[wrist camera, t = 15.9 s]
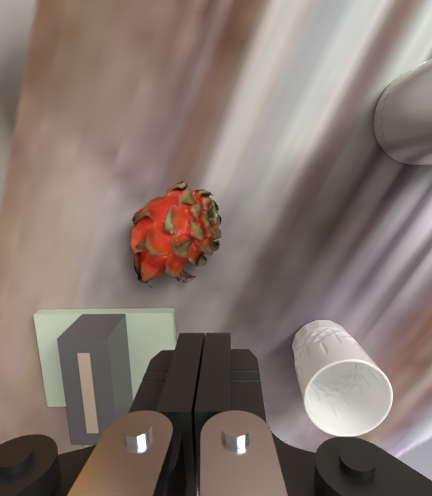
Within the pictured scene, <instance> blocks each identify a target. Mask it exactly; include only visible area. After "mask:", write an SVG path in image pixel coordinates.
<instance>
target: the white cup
mask: <svg viewBox="0 0 432 496" xmlns="http://www.w3.org/2000/svg"><path fill="white" fill-rule="evenodd" d="M292 349H293V354H294V359H295V368H296V374H297V378H298V382H299V386H300V390H301V394H302V398H303V403H304V407H305V411H306V413H307V415H308V417H309V419H310V420H311V421H312V423H313V424H314V425H315V426H316V427H318V428H319V429H320V430H322V431H324V432H326V433H328V434H331V435H334V436H340V437H352V436H358V435H362V434H364V433H367V432H369V431H371V430H373V429H374V428H376V427H377V426H378V425H379V424H380V423H381V422H382V421H383V420H384V419H385V418H386V416H387V415H388V413H389V411H390V408H391V405H392V400H393V392H392V387H391V384H390V382H389V380H388V378H387V377H386V375H385V374H384V373H383V372H382V371H381V369H380V368H379V367H378V366H377V365H376V364H375V363H374V361H373V360H372V359H371V358H370V357H369V355H368V354H367V353H366V352H365V351H364V350H363V348H362V347H361V346H360V345H359V344H358V343H357V342H356V341H355V340H354V339H353V338H352V337H351V336H350V335H349V334H348V333H347V332H346V331H345V330H344V329H343V327H342V326H340V325H338V324H336V323H334V322H332V321H330V320H315V321H313V322H310V323H308V324H305V325H304V326H303V327H302V328H301V329H300V330H299V331H298V332H297V333H296V334H295V337H294V340H293V344H292Z"/></svg>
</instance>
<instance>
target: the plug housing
mask: <svg viewBox="0 0 432 496" xmlns="http://www.w3.org/2000/svg"><path fill="white" fill-rule="evenodd" d="M57 343H58V351H59V358H60V365H61V373H62V380H63V388H64V395H65V403H66V410H67V418H68V425H69V432H70V440H71V444H72V445H96V444H97V443H98V441H99V440H100V438H101V436H102V435H103V433H104V431H105V430H106V428H107V427H108V426H109V425H110V424H111V423H112V422H113V421H115V420H116V419H118V418H119V417H121V416H123V415H126V414H128V412H129V410H130V408H131V405H132V403H133V393H132V382H131V370H130V359H129V348H128V336H127V325H126V314H82V315H81V316H80V317H79V318H78V319H77V320H76V321H75V322H74V323H73V324H71V325H70V326H69V327H68V328H67V329H66V330H65V331H64V332H63V333H62V334H61V335H60V336H59V337H58V338H57Z"/></svg>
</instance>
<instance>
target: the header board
mask: <svg viewBox="0 0 432 496" xmlns="http://www.w3.org/2000/svg"><path fill="white" fill-rule="evenodd" d="M82 314H126V325H127V336H128V348H129V359H130V370H131V382H132V393H133V400H134V398H135V396H136V393H137V391H138V389H139V386H140V384H141V382H142V379H143V377H144V374H145V373H146V369H147V367H148V365H149V362H150V360H151V359H152V358H153V357H154V356H155V355H157V354H158V353H159V352H160V351H161V350H175V347H176V344H177V343H176V326H175V309H174V308H120V309H46V310H39V311H38V312H36V313H35V314H34V322H35V328H36V335H37V342H38V348H39V355H40V361H41V368H42V375H43V381H44V388H45V394H46V401H47V407H66V403H65V395H64V388H63V380H62V373H61V365H60V358H59V351H58V343H57V338H58V337H59V336H60V335H61V334H62V333H63V332H64V331H65V330H66V329H67V328H68V327H69V326H70V325H71V324H73V323H74V322H75V321H76V320H77V319H78V318H79V317H80V316H81V315H82Z"/></svg>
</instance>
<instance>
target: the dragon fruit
mask: <svg viewBox="0 0 432 496" xmlns="http://www.w3.org/2000/svg"><path fill="white" fill-rule="evenodd" d="M186 188H187V184H186V182H185V181H182V182H180V183H177V184H176V185H174V186H172V187H171V188H170V189H168V191H167V194H166V196H165V197H157V198H155V199H153V200H151V201H149V202H148V203H147V204H146V205H145V207H144V208H142V209H141V210H139V211H138V212H136V213H135V214H134V216H133V220H132V221H133V222H134V223H133V224H134V226H133V229H132V231H131V239H130V247H131V251H132V253H133V255H134V268H135V271H136V273H137V275H138V280H139V281H141V282H142V283H143V282H145V283H147V282H148V281H149V280H151V279H154V278H156V277H158V276H159V275H160V274H161V273H163V272H164V271H165V273H166V274H168V275H169V276H170V277H171V278H174V277H175V278H176V279H177V280H178V281H180V280H181V279H182V277H181V275H182V276H183V277H185V278H186V279H185V280H184V281H182V282H184V283H185V282H189V281H191V280H192V279H194V278H195V277H196V276H192V275H190V274H188V273H186V272H185V271H184V270H183V268H184V266H185V264H186V263H187V262H191V263H192V264H194V265H195V266H203V265H205V264H206V262H207V259H206V257H205V256H204V252H205V253H208V254H209V255H212V254H213V251H216V250H218V249H219V246H220V244H219V240H218V241H212V240H216V239H218V238H220V237H221V231H220V229H219V228H218V227H219V225H220V224H221V217H220V216H219V215H218V206H217V204H216V202H215V201H214V200H212V199H211V198H209V195H212V194H211V192H208V191H205V190H191V189H187V190H185V189H186ZM212 196H213V195H212ZM200 253H201V254H200ZM140 271H141V272H140ZM140 273H142V274H141V275H140ZM179 274H181V275H179ZM141 276H142V277H141ZM143 284H144V283H143ZM149 287H150V286H149Z"/></svg>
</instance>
